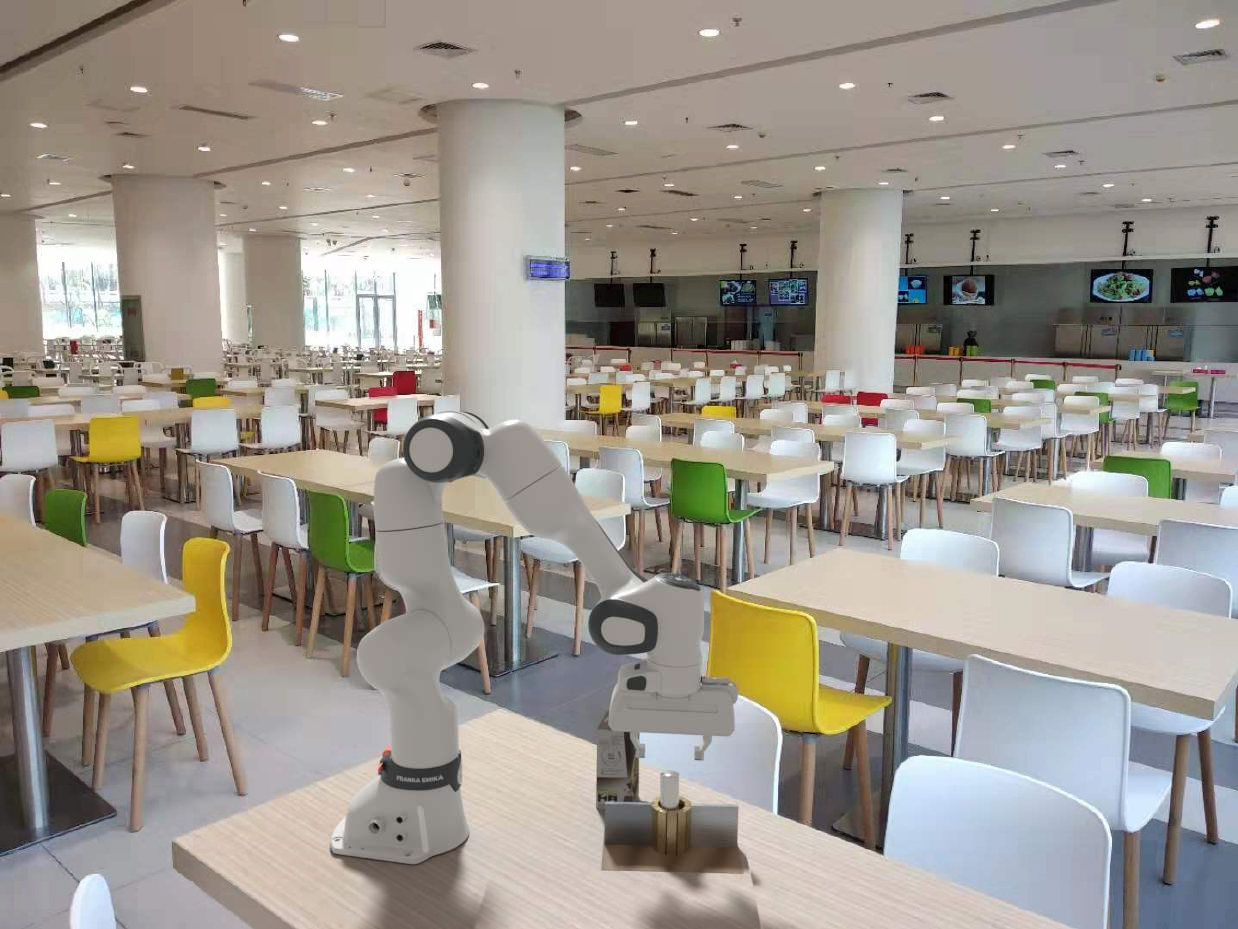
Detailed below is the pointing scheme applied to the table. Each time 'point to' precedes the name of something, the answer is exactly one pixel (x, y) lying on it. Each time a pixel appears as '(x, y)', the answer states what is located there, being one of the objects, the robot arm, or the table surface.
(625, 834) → the hinge
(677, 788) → the hinge pin
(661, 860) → the walnut base
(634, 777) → the coffee box
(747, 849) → the table surface
